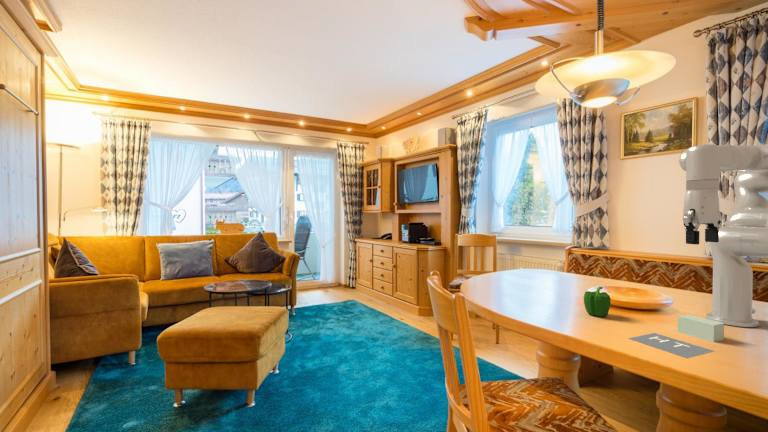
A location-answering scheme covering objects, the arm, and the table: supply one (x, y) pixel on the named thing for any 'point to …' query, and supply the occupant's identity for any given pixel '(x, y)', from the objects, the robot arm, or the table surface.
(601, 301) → the bell pepper
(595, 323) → the table surface
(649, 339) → the card
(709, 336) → the sage block
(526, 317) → the table surface
